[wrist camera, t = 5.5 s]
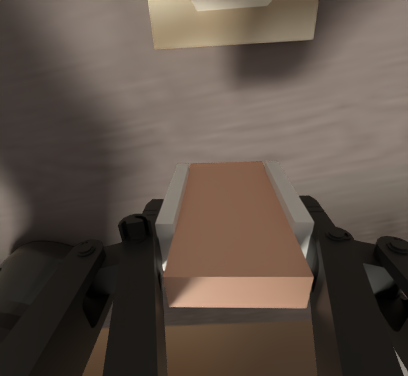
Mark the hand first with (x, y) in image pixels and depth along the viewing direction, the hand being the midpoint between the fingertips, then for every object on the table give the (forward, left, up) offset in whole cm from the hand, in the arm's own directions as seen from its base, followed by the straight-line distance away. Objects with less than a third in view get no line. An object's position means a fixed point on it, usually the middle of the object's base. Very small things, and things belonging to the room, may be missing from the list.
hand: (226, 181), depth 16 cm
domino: (0, 0, -1) cm, 1 cm away
